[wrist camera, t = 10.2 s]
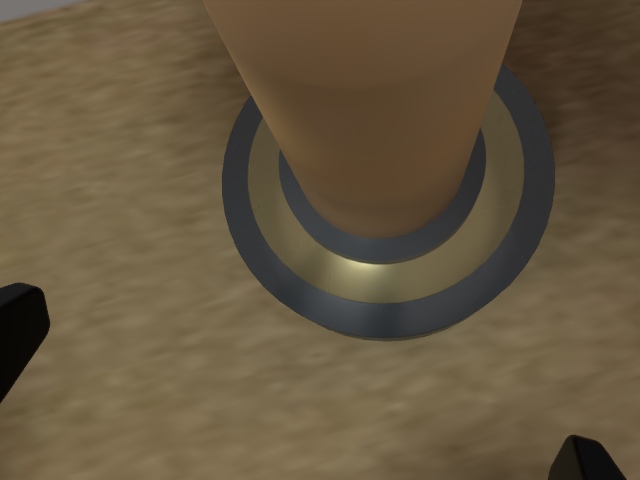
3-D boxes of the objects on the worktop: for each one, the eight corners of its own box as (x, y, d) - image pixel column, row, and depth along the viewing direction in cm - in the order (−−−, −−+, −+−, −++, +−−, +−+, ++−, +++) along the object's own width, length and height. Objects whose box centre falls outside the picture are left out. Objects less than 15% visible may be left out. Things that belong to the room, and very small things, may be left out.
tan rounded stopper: (512, 227, 17) (665, 36, 7) (315, 290, 17) (209, 189, 8) (441, 55, 18) (488, -289, 9) (263, 116, 19) (123, -150, 9)
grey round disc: (522, 362, 19) (547, 360, 16) (222, 320, 21) (191, 310, 18) (540, 76, 21) (566, 25, 18) (269, 61, 23) (249, 12, 20)
